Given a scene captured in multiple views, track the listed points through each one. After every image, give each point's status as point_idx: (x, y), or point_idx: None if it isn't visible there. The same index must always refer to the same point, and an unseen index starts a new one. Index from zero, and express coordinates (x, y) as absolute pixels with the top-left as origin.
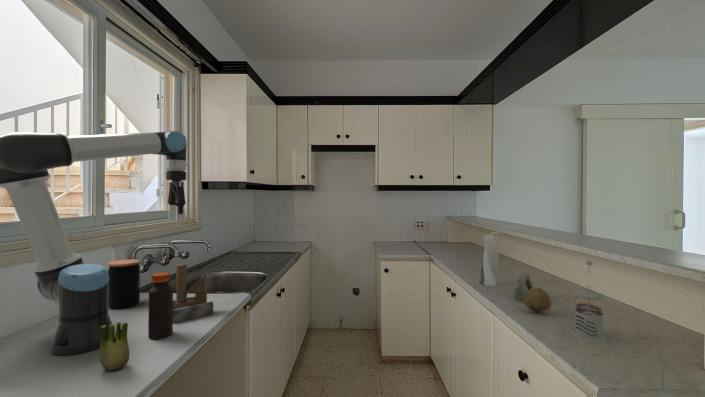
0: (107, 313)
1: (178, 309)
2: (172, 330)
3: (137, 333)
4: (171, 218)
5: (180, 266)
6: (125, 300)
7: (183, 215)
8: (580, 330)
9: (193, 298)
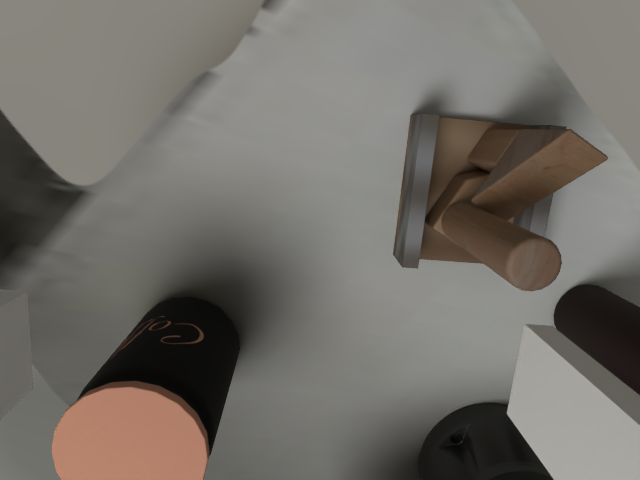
0: (542, 473)
1: None
2: (603, 288)
3: (515, 356)
4: (15, 371)
5: (553, 277)
6: (236, 358)
7: (616, 384)
8: None
9: (431, 162)
